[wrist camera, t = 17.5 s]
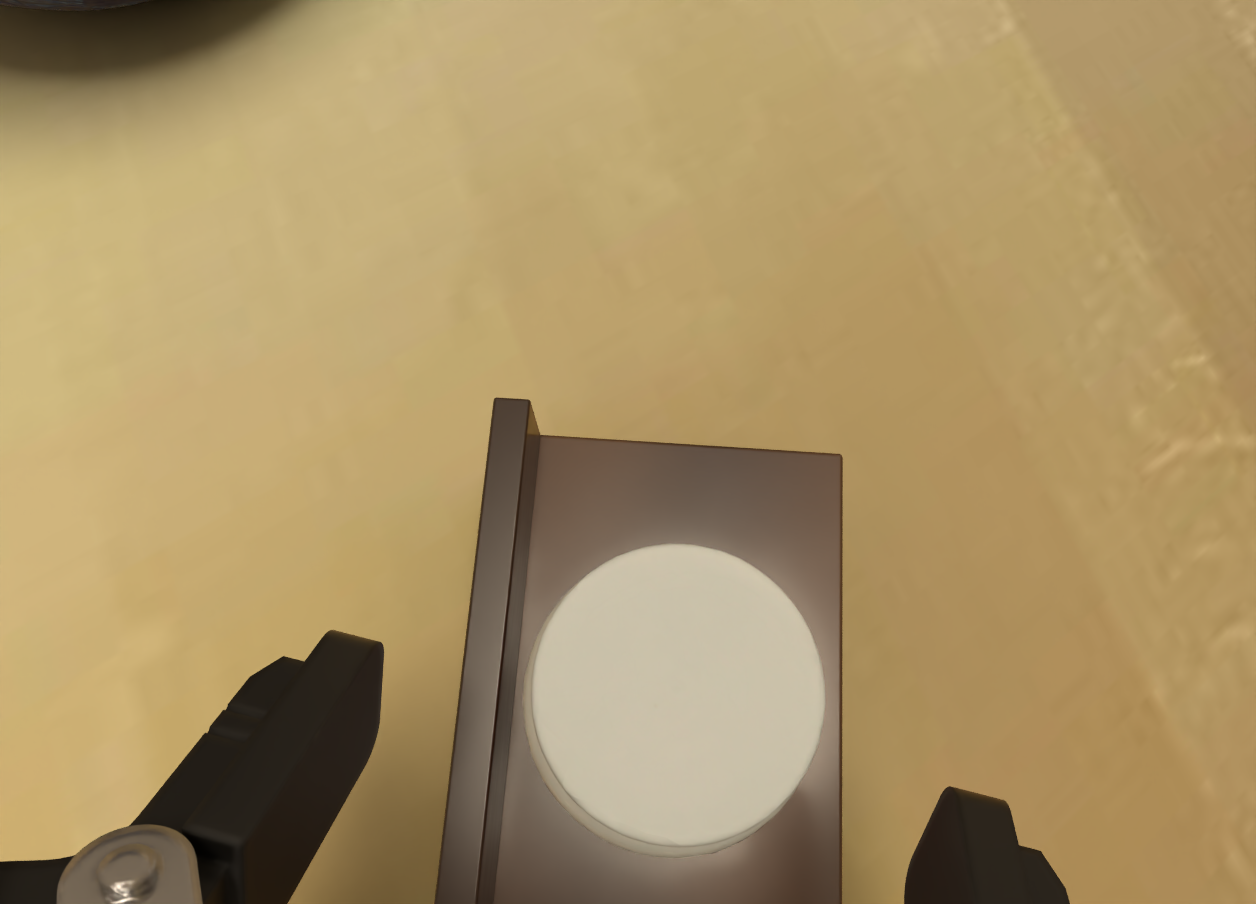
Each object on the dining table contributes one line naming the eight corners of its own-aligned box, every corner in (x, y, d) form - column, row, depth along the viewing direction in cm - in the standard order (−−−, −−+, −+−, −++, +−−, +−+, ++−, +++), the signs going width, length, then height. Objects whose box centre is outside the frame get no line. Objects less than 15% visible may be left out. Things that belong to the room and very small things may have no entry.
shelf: (812, 495, 26) (867, 419, 20) (807, 978, 23) (871, 1065, 17) (525, 477, 26) (494, 396, 20) (476, 953, 23) (418, 1029, 17)
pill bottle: (581, 853, 20) (544, 928, 12) (530, 631, 21) (467, 563, 13) (797, 793, 20) (905, 826, 12) (734, 578, 21) (793, 479, 13)
